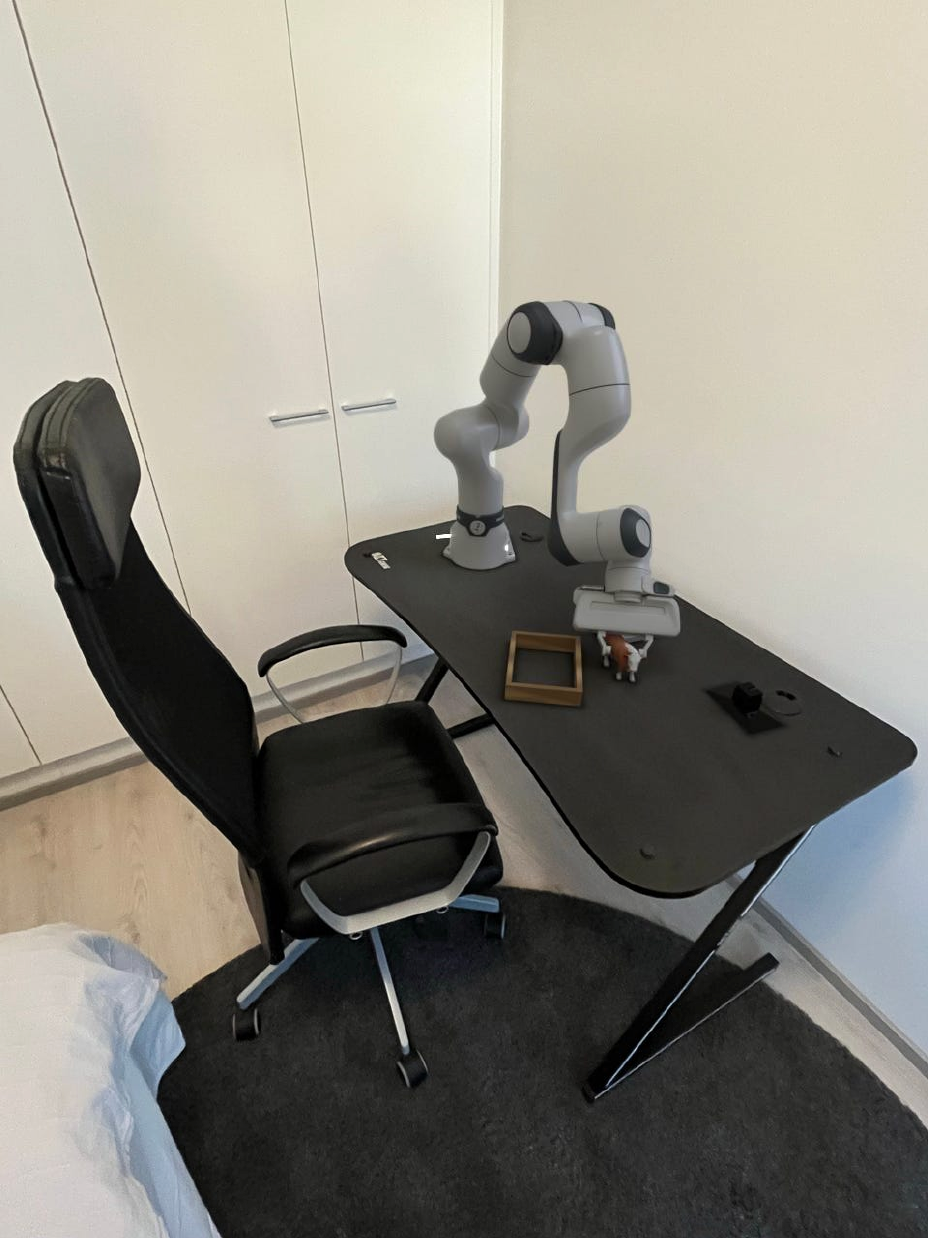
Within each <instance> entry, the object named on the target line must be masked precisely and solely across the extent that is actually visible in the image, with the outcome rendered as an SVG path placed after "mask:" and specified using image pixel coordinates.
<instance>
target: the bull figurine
mask: <svg viewBox="0 0 928 1238" xmlns="http://www.w3.org/2000/svg"><path fill="white" fill-rule="evenodd" d="M604 641H605V643H606V645H607V646H611V650H610V652H611V653H610V656H604V660H603V663H604V664H603V666H604V667H605V668H609V667H610V662H609V657H610V659H611V660H614V661H616V662H617V663H618V672H617V673H616V680H618V681H621V680H622V673H623V672H624V669H625V671H626V672H629V681H630V682H631V683H635V682H636V678H635V675H634V673H637V672H638V667H639V664H640V662H641V661H645V660H647V659H648V657H647V656H646V657H640V655H639V653H638V651H637V650H638V649H636V648H635V646H633V645H632V644H631V642H630V643H629V642H627V641H626V640H625V639H624V638H623V637H622V635H618V634H606V635H605V638H604Z"/></svg>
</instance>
